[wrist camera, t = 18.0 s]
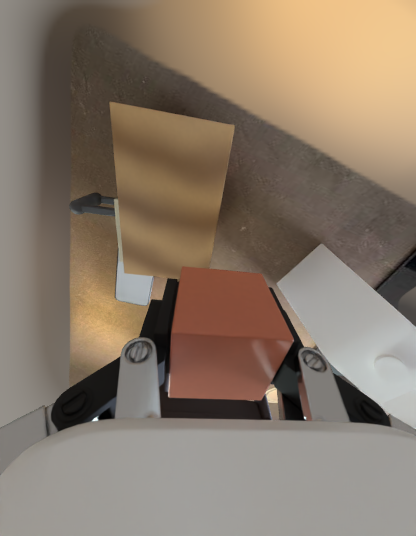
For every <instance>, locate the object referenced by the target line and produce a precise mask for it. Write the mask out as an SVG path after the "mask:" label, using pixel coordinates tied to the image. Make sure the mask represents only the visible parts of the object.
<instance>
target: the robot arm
mask: <svg viewBox="0 0 416 536" xmlns="http://www.w3.org/2000/svg"><path fill="white" fill-rule="evenodd" d="M178 287H179V282H177V279H169V278H168V280H167V283H166V287H165V291H164V295H163V299H162V300H153V299H152V300H151V302H150V305H149V308H148V312H147V315H146V318H145V321H144V324H143V327H142V330H141V333H140V336H139V338H135V339H133V340H131V341H129V342H128V343H127V344H126V345H125V346H124V347H123V349H122V352H121V356H120V357H119V358H117V359H116V360H114V361H112V362H111V363H109V364H108V365H106V366H104V367H103V368H101V369H100V370H98V371H96V372H95V373H93V374H91V375H90V376H88V377H87V378H85V379H83V380H82V381H80V382H79V383H77V384H75V385H74V386H72V387H70V388H69V389H68V390H66V391H65V392H64V393H62V394H61V396H60V397H59V398H58V399H57V400H56V402H55V403H53V404H51V405H49V406H47V407H45V406H42V407H40V408H38V409H36V410H34V411H32V412H30V413H28V414H26V415H24V416H22V417H20V418H18V419H16V420H14V421H13V422H11V423H9V424H7V425H5V426H3V427H1V428H0V536H416V429H414V428H413V427H411V426H409V425H408V424H406V423H404V422H402V421H401V420H399V419H397V418H396V417H394V416H392V415H390V414H389V415H388V416H387V415H386V413H385V412H384V410H383V409H382V408H381V407H380V406H379V405H378V404H377V403H376V402H375V401H374V400H372V399H371V398H369V397H368V396H367V395H365V394H364V393H362V392H361V391H359V390H358V389H356V388H355V387H353V386H352V385H350V384H349V383H347V382H346V381H344V380H343V379H342V378H340V377H339V376H337V375H336V374H334V373H333V372H332V369H331V366H330V364H329V362H328V360H327V359H326V357H325V356H324V355H323V354H321V353H320V352H319V351H317V350H315V349H313V348H310V347H304V346H303V344H302V342H301V340H300V338H299V336H298V334H297V333H296V331H295V329H294V327H293V325H292V323H291V321H290V319H289V317H288V315H287V313H286V312H285V311H284V310H283V308H282V306H281V304H280V302H279V300H278V299H277V297H276V295H275V293H274V291H273V289H272V288H271V287H268V288H269V290H270V292H271V294H272V296H273V298H274V300H275V302H276V304H277V306H278V308H279V310H280V312H281V314H282V316H283V318H284V320H285V322H286V324H287V326H288V328H289V330H290V332H291V334H292V336H293V338H294V341H293V343H292V345H291V347H290V349H289V351H288V352H287V354H286V356H285V358H284V360H283V362H282V363H281V365H280V367H279V369H278V371H277V373H276V374H275V376H274V378H273V380H272V382H271V384H274V386H275V387H276V388H277V396H278V408H279V419H280V420H244V419H187V418H161V409H160V395H159V386H161V385H162V384H163V383H164V380H166V373H169V367H170V346H171V330H172V324H173V318H174V312H175V305H176V299H177V293H178Z"/></svg>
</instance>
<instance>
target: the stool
mask: <svg viewBox="0 0 416 536" xmlns="http://www.w3.org/2000/svg"><path fill="white" fill-rule="evenodd" d="M168 385H169V373H166V380H164V383H163V384H162V385H161V386H159V395H160V409H161V418H187V419H244V420H272V417H271V413H270V409H269V405H268V401H267V398H266V394H265V395H264V396H263V398H262V400H254V401H248V400H231V399H198V398H169V397H168Z"/></svg>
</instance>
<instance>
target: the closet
mask: <svg viewBox="0 0 416 536" xmlns="http://www.w3.org/2000/svg"><path fill="white" fill-rule="evenodd" d="M110 113H111V125H112V136H113V148H114V159H115V171H116V182H117V194H118V206H119V217H120V229H121V240H122V252H123V264H124V273H126V274H135V275H145V276H154V277H164V278H174V279H180V275H181V268H182V266H186V267H196V268H207V269H209V268H210V262H211V256H212V251H213V245H214V240H215V234H216V228H217V223H218V217H219V212H220V206H221V200H222V195H223V189H224V184H225V178H226V172H227V167H228V161H229V156H230V150H231V144H232V139H233V133H234V128H235V126H234V125H230V124H225V123H220V122H215V121H209V120H204V119H199V118H194V117H188V116H183V115H178V114H173V113H168V112H162V111H157V110H152V109H147V108H142V107H136V106H131V105H126V104H121V103H115V102H110Z"/></svg>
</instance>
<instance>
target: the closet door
mask: <svg viewBox="0 0 416 536" xmlns="http://www.w3.org/2000/svg"><path fill="white" fill-rule="evenodd" d="M101 203H105V204H112V205H114V207H115V208H109V207H102V206H98V205H100V204H101ZM69 206H70V210H71V211H72V212H73V213H75V214H83V213H93V214H100V215H108V216H115V217H116V227H117V238H118V248H119V258H120V262H123V252H122V240H121V229H120V217H119V206H118V197H117V198H112V197H105V196H101V195H100V194H99V193H92V194H89V195H87V196H84V197H82V198H79V199H76V200H74V201H72V202H71V203H70V205H69Z"/></svg>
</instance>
